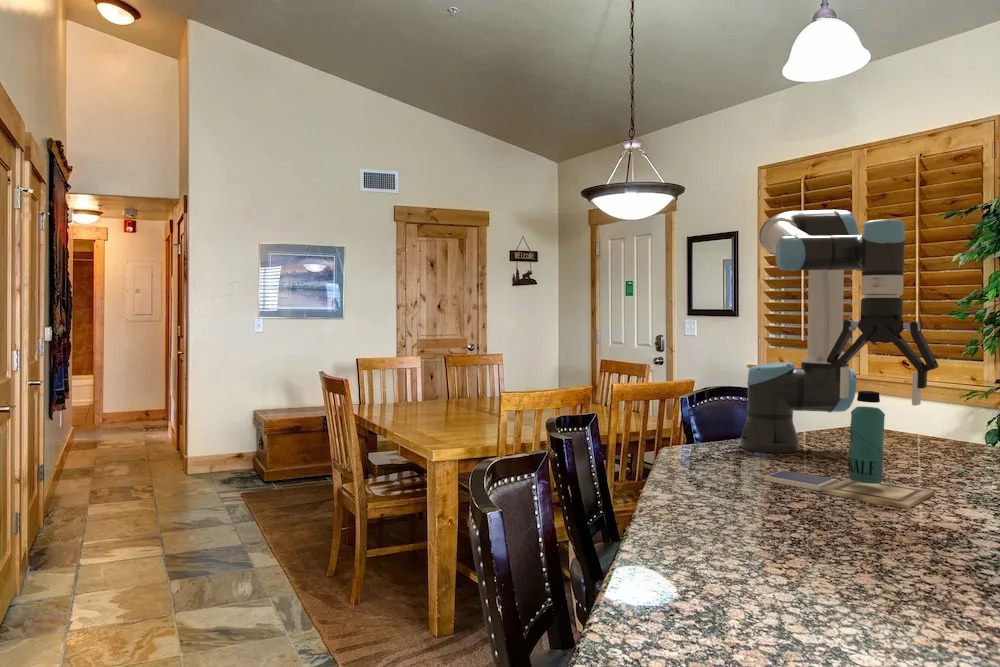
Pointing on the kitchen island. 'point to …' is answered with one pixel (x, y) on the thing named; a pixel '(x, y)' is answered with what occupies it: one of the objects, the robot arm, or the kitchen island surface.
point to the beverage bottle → (866, 441)
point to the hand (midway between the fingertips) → (878, 401)
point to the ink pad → (800, 480)
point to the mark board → (879, 493)
